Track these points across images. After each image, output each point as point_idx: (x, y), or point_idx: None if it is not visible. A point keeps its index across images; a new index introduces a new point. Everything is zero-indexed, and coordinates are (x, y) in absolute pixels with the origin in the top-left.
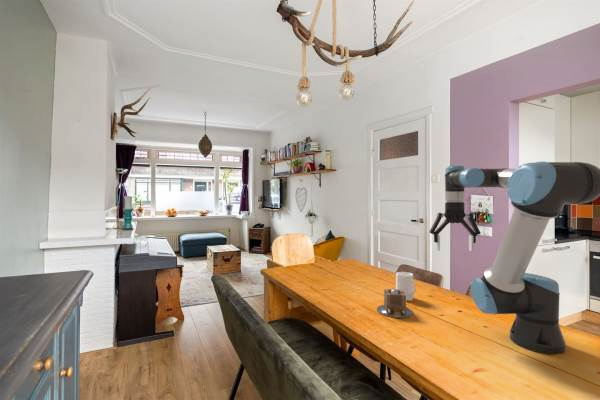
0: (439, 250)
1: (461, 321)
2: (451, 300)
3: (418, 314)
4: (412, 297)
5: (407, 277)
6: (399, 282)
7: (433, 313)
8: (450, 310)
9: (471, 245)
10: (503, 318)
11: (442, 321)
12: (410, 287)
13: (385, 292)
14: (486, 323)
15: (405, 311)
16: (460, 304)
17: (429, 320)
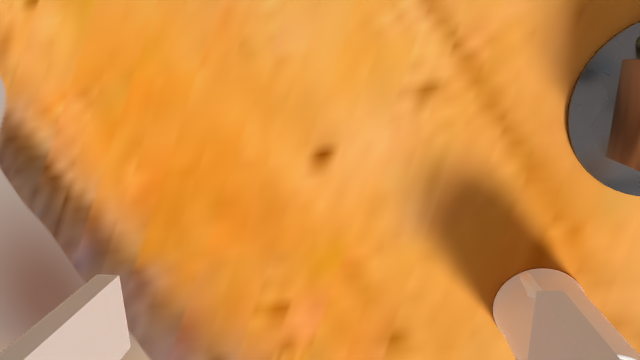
0: (542, 291)
1: (360, 19)
2: (314, 289)
3: (545, 81)
4: (507, 290)
5: None
6: (623, 337)
7: (461, 106)
8: (363, 158)
9: (69, 320)
10: (160, 89)
11: (454, 3)
12: None
13: None
14: (254, 13)
15: (633, 59)
16: (290, 242)
17: (516, 5)
